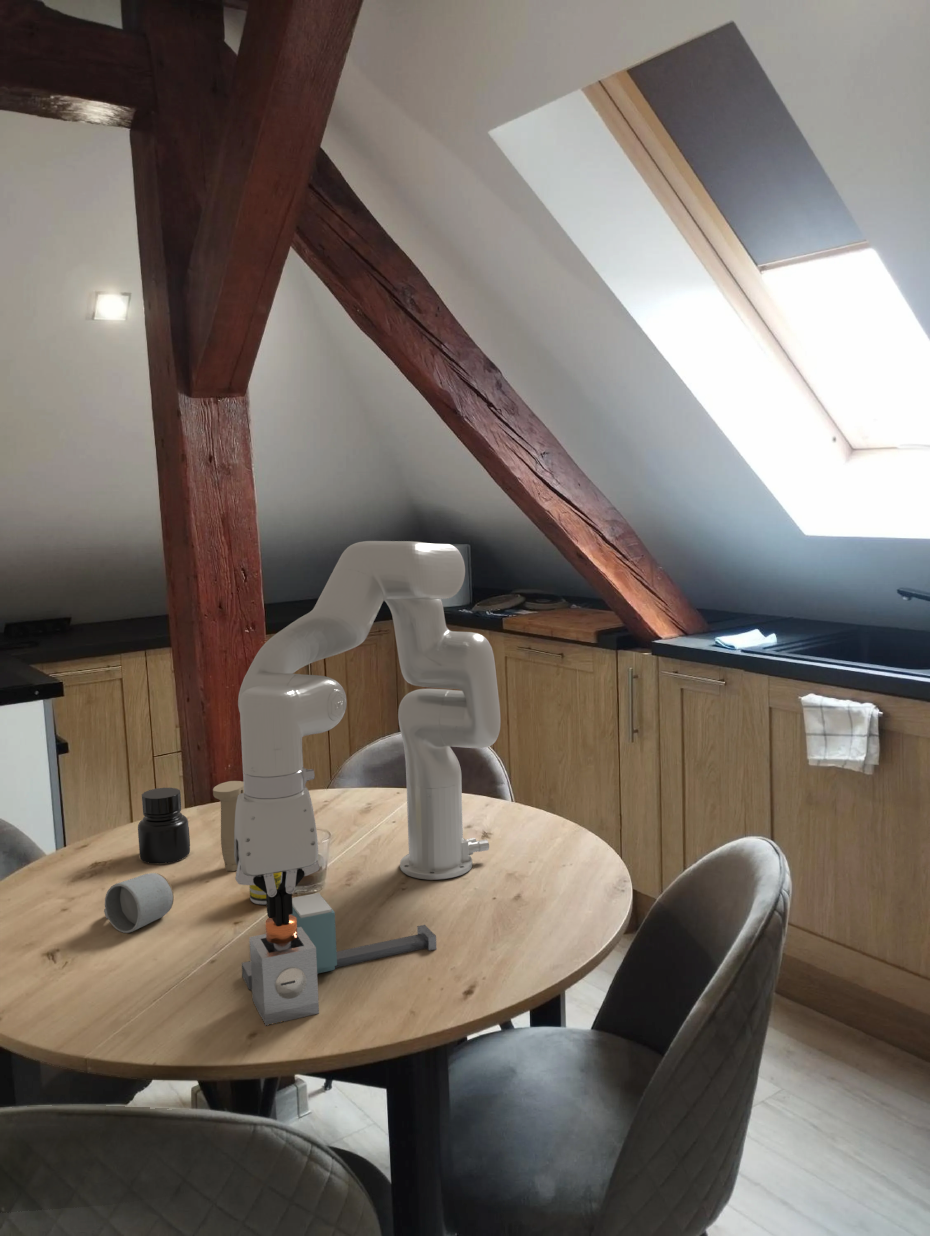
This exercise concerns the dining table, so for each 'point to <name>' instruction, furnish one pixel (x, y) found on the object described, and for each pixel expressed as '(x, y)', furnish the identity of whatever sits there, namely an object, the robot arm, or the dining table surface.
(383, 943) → the rail
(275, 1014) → the grey button box
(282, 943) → the plunger
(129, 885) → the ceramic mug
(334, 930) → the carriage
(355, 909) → the dining table surface
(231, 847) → the handle
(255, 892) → the supplement bottle
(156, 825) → the ink bottle
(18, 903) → the dining table surface
